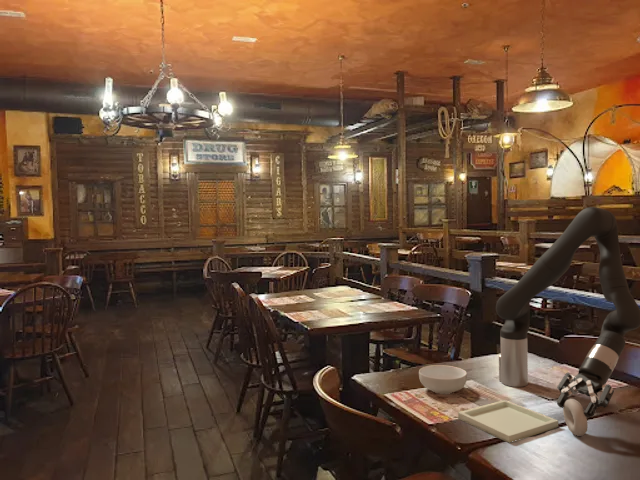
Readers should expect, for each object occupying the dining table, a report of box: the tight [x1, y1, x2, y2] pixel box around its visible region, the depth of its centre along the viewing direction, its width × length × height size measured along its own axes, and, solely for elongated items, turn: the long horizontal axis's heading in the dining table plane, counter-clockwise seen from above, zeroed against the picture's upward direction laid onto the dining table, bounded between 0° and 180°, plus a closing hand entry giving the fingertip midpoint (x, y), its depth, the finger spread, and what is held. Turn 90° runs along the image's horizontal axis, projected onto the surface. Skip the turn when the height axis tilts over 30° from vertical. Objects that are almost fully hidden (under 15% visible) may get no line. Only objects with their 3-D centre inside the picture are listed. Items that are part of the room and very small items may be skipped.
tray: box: [457, 399, 559, 444], centre depth 153 cm, size 20×20×2 cm
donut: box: [562, 398, 589, 437], centre depth 143 cm, size 10×4×10 cm, turn 178°
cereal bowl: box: [418, 364, 468, 395], centre depth 183 cm, size 17×17×7 cm
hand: (572, 411), depth 142 cm, fingers closed on donut, 8 cm apart
